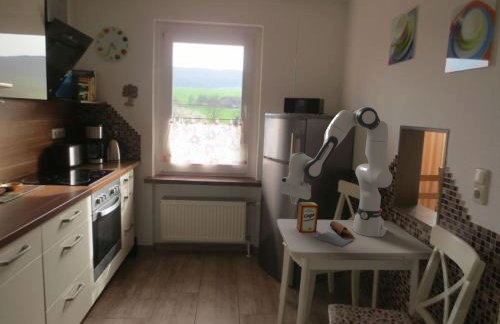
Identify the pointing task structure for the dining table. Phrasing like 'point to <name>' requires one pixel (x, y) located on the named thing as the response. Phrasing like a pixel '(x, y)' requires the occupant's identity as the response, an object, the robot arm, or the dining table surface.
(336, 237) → the mat
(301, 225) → the baking soda box
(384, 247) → the dining table surface
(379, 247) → the dining table surface
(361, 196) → the robot arm
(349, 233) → the sunglasses case
